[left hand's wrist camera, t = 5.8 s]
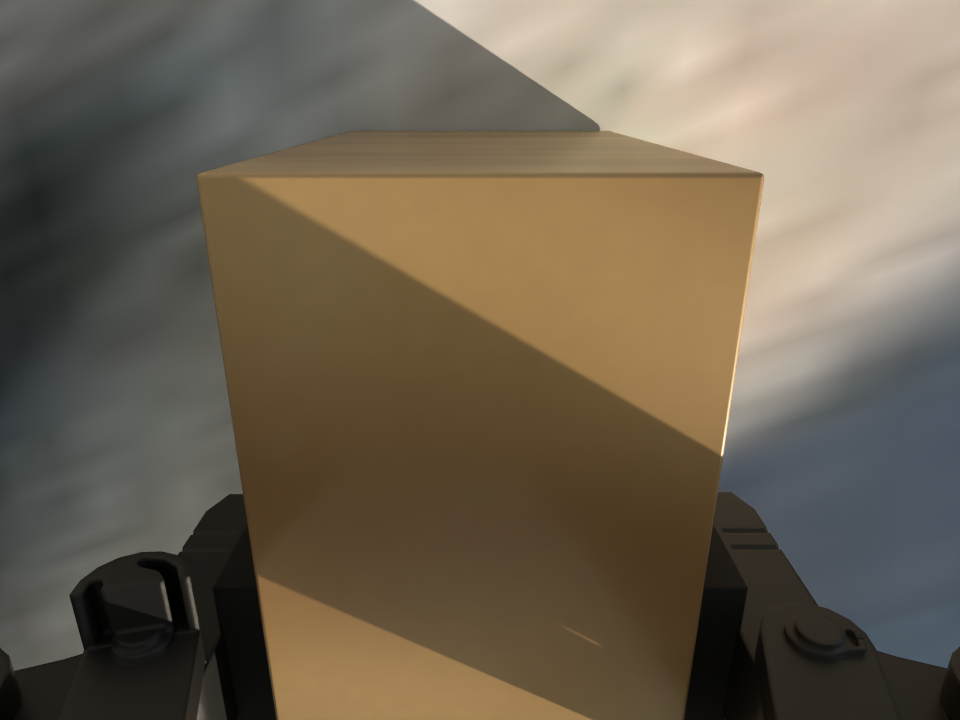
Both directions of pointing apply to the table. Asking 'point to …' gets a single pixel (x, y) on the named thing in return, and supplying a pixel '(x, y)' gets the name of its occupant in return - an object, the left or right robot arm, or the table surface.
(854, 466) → the table surface
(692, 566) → the bar
